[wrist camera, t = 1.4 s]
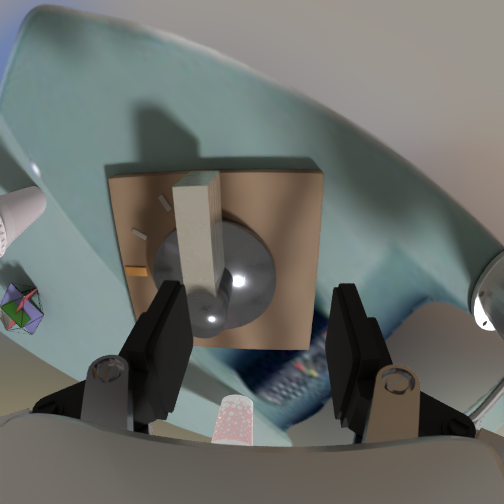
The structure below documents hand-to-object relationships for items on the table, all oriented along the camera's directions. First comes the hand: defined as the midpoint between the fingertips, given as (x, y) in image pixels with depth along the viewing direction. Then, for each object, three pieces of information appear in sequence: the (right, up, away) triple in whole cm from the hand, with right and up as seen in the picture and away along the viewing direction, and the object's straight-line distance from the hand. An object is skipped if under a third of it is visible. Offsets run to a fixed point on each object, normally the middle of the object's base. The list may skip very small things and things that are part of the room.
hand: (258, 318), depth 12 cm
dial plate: (-4, +1, +22) cm, 22 cm away
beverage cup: (-2, -20, +32) cm, 37 cm away
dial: (-4, +2, +19) cm, 20 cm away
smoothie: (-26, +9, +20) cm, 34 cm away
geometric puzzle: (-32, -4, +26) cm, 41 cm away
